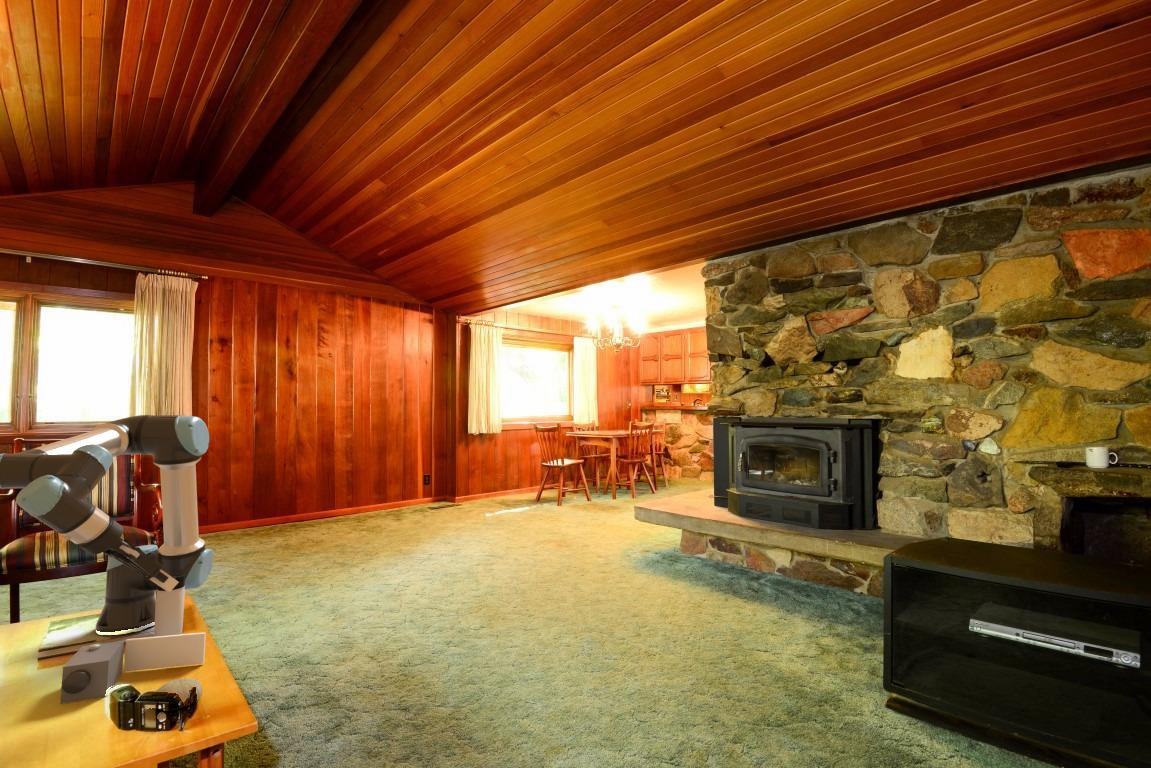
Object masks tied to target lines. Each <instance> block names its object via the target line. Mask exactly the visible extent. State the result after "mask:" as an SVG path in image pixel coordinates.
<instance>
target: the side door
mask: <svg viewBox="0 0 1151 768" xmlns="http://www.w3.org/2000/svg"><path fill="white" fill-rule="evenodd" d="M206 635H207V632H193V633H182V634H180V635H169V636H157V637H154V636H148V637H138V638H127V639H126V640H125V645H124V651H125V652H124V661H123V673H124V672H133V671H134V672H135V671H145V670H155V669H164V668H166V669H167V668H174V667H183V666H191V665H193V666H194V665H203V664H204V663H205V656H206V640H207V639H206Z"/></svg>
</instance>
